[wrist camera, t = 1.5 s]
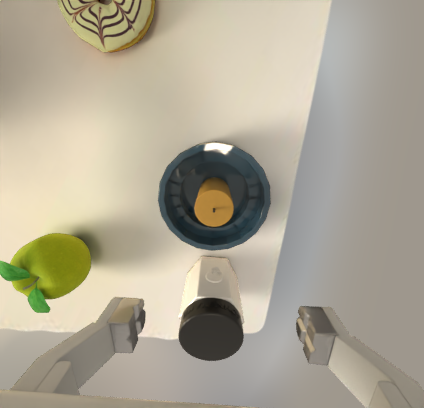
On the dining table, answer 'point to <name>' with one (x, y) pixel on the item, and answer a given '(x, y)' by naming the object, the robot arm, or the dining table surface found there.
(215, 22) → the dining table surface
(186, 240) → the bowl
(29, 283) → the fruit
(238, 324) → the jar
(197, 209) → the candle
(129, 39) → the decorated donut
